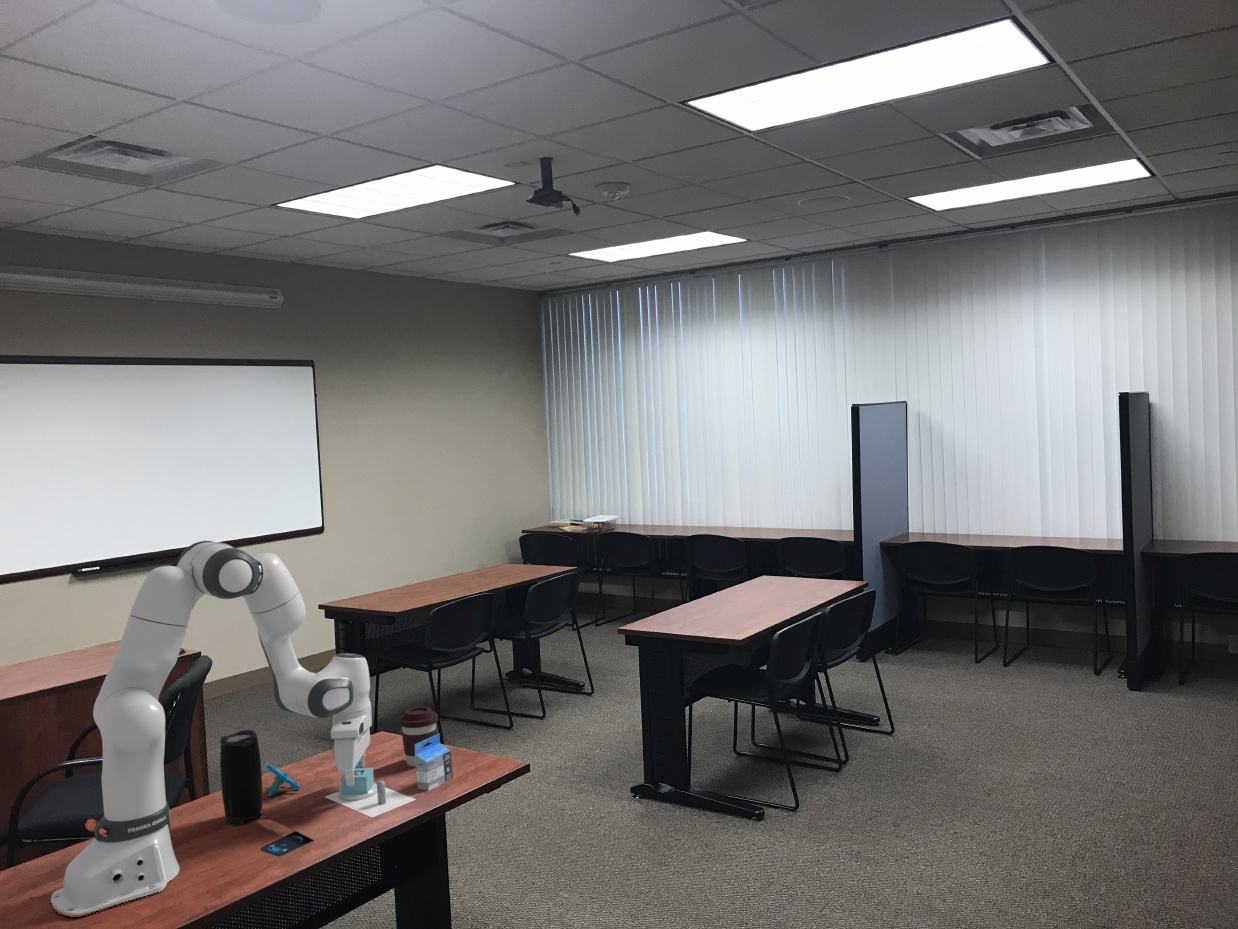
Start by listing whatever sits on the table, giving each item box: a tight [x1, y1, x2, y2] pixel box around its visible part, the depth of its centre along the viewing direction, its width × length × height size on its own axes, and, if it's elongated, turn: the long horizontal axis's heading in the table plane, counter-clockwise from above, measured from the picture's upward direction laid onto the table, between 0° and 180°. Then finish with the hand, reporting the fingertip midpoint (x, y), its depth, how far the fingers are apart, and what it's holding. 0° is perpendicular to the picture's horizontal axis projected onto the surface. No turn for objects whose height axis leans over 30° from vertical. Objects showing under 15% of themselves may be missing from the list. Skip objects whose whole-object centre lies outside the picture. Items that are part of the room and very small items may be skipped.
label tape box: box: [415, 733, 454, 792], centre depth 223 cm, size 9×4×12 cm, turn 148°
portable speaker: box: [219, 729, 263, 826], centre depth 211 cm, size 9×9×20 cm
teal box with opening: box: [340, 767, 375, 795], centre depth 219 cm, size 6×6×4 cm
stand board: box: [325, 771, 417, 818], centre depth 216 cm, size 12×20×6 cm, turn 48°
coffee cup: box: [398, 706, 439, 767], centre depth 239 cm, size 10×10×15 cm
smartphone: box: [259, 830, 315, 857], centre depth 199 cm, size 8×1×15 cm
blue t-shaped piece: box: [266, 764, 301, 797], centre depth 226 cm, size 11×6×10 cm
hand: (355, 777), depth 219 cm, fingers open, 8 cm apart
